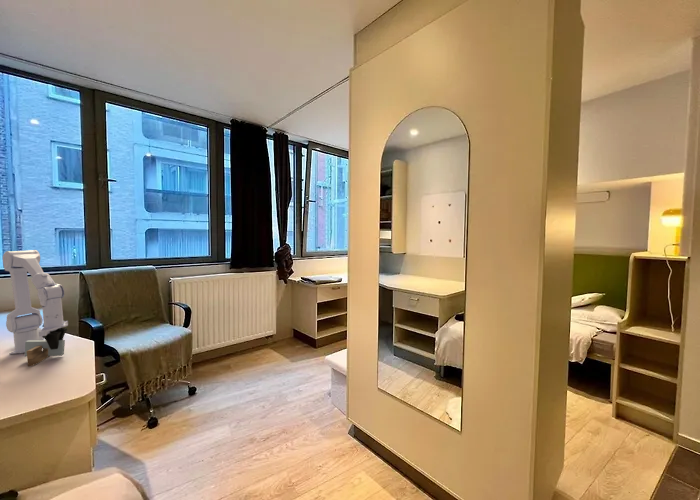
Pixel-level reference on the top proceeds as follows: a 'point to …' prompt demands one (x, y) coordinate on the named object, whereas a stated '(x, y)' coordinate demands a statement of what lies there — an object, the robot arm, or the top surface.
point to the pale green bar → (44, 344)
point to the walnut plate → (36, 355)
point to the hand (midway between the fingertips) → (56, 348)
